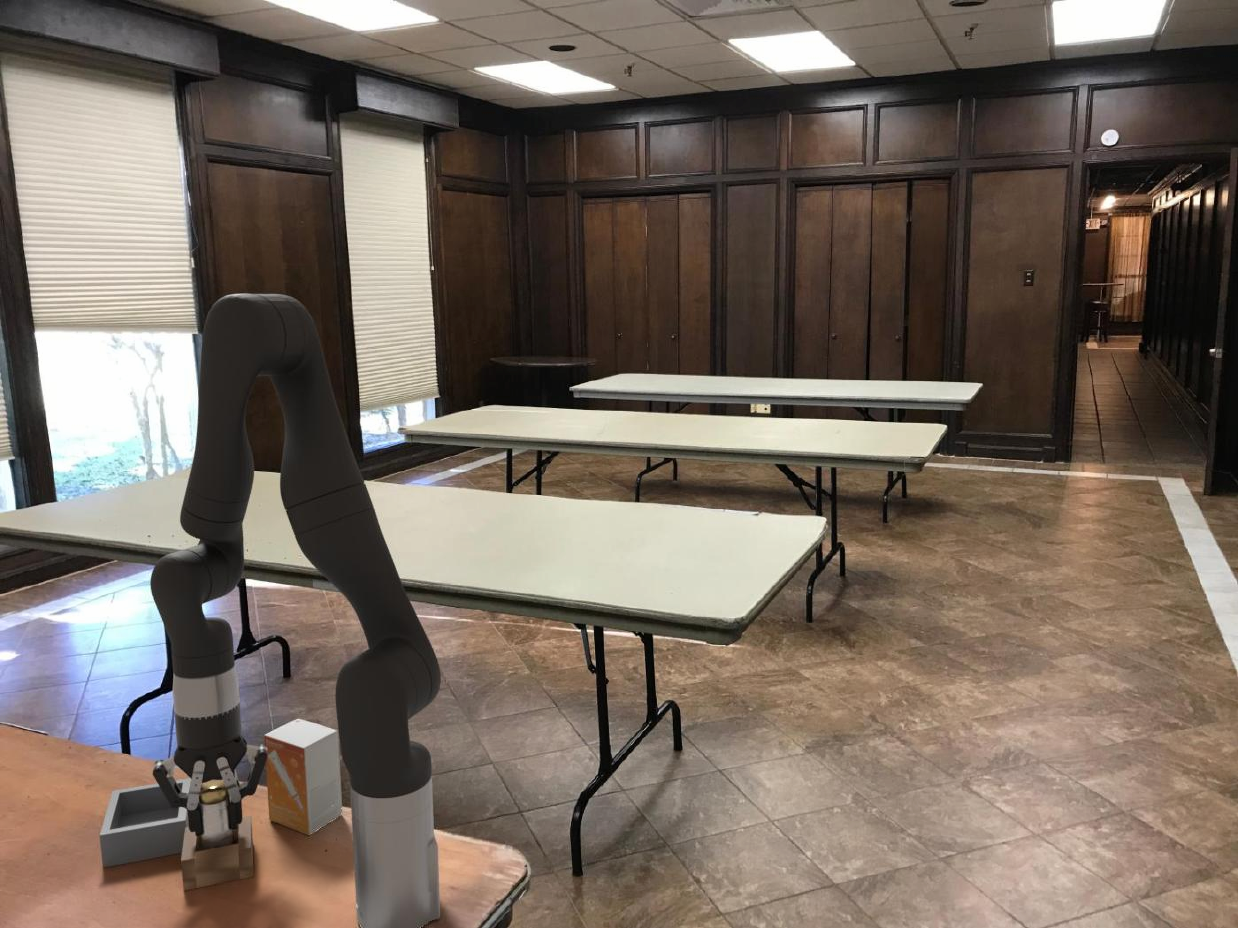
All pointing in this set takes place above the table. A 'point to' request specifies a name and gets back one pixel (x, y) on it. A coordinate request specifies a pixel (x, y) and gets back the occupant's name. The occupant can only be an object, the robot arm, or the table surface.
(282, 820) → the small box
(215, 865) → the collar
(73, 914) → the table surface
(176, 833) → the tray
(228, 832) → the gold lid glass jar
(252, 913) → the table surface
